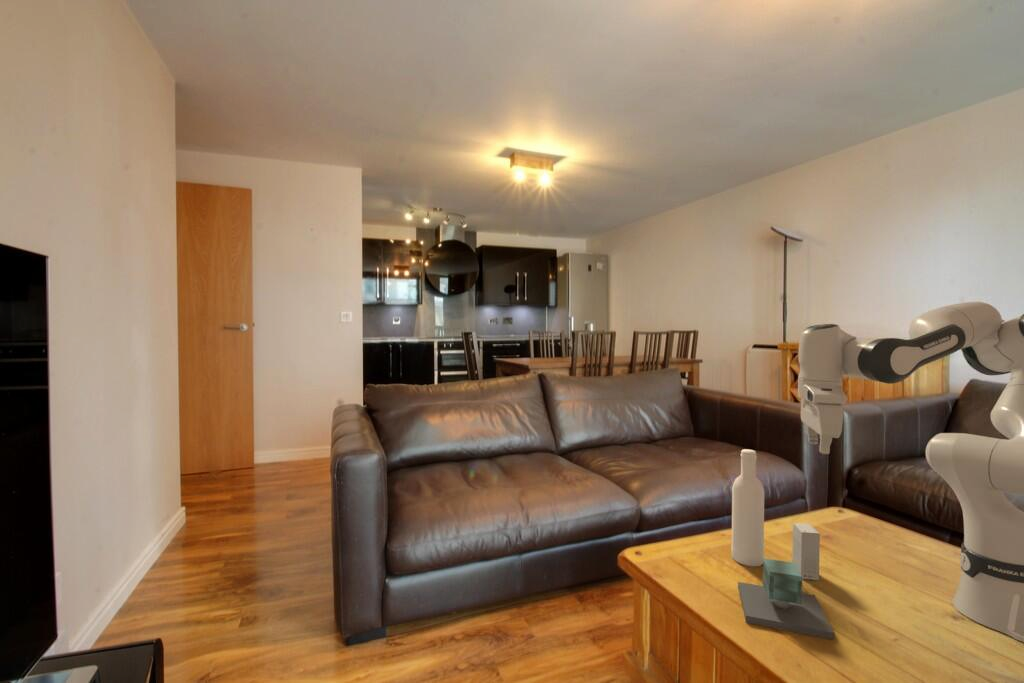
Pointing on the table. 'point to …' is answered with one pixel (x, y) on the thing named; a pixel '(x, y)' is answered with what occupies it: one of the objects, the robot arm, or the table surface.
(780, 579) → the sage green cube
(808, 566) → the skincare box
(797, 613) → the post block
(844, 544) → the table surface
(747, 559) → the bottle
